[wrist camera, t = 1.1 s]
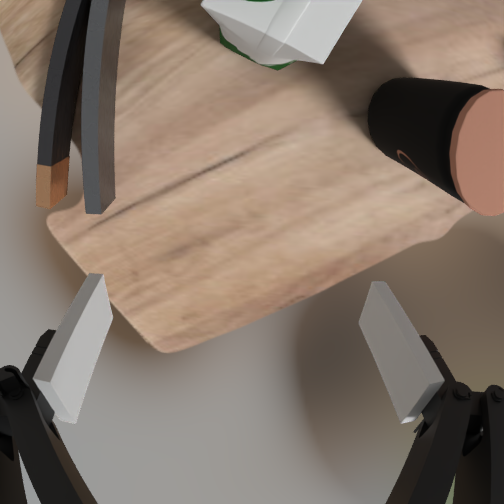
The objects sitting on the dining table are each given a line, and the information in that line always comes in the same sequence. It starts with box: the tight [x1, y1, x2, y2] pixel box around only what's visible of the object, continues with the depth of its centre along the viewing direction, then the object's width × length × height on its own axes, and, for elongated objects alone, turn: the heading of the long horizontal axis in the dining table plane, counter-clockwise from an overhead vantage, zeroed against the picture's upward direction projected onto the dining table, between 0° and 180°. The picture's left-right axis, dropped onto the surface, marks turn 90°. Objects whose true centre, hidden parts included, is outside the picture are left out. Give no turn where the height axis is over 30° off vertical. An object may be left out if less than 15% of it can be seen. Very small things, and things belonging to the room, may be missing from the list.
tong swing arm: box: [36, 0, 92, 209], centre depth 27 cm, size 27×2×5 cm, turn 164°
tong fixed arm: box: [81, 0, 126, 214], centre depth 27 cm, size 32×4×5 cm, turn 173°
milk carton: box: [200, 0, 362, 70], centre depth 20 cm, size 9×9×20 cm
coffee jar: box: [368, 77, 504, 216], centre depth 26 cm, size 11×11×18 cm
